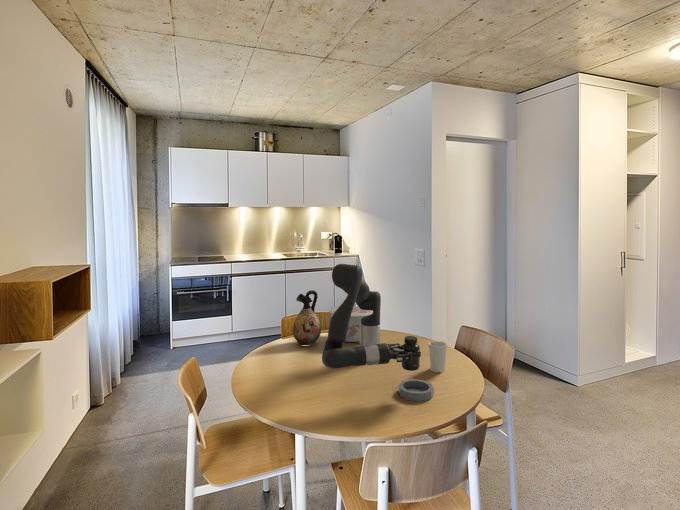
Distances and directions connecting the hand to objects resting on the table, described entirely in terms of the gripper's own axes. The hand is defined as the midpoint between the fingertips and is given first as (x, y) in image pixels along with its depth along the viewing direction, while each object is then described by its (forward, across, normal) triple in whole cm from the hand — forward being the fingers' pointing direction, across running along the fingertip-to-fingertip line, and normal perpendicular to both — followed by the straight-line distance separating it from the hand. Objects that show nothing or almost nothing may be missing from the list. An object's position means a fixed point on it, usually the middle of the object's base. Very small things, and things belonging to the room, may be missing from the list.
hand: (416, 350), depth 151 cm
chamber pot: (-5, +75, +18) cm, 77 cm away
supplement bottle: (-2, 0, +7) cm, 7 cm away
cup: (+20, +20, +18) cm, 33 cm away
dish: (0, 0, +18) cm, 18 cm away
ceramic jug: (-31, +73, +18) cm, 81 cm away
